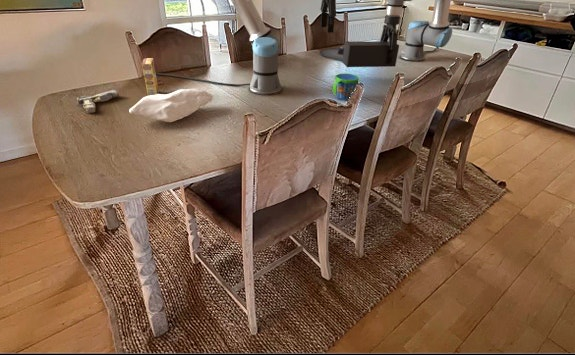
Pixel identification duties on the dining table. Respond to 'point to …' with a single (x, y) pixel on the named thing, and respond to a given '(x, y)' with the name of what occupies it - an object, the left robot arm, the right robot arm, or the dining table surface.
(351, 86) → the snack cup
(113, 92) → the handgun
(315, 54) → the dining table surface
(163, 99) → the crumpled cloth
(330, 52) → the grey round platform
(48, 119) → the dining table surface
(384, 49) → the box
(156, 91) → the candy box
